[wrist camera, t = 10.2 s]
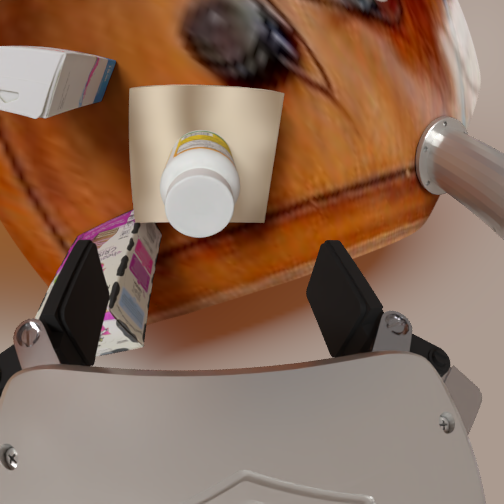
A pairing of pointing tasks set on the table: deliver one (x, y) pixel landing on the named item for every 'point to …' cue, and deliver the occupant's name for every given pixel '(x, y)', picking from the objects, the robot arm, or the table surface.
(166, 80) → the table surface
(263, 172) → the base block
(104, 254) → the candy bar box
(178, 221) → the supplement bottle
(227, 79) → the table surface
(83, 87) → the ink box
